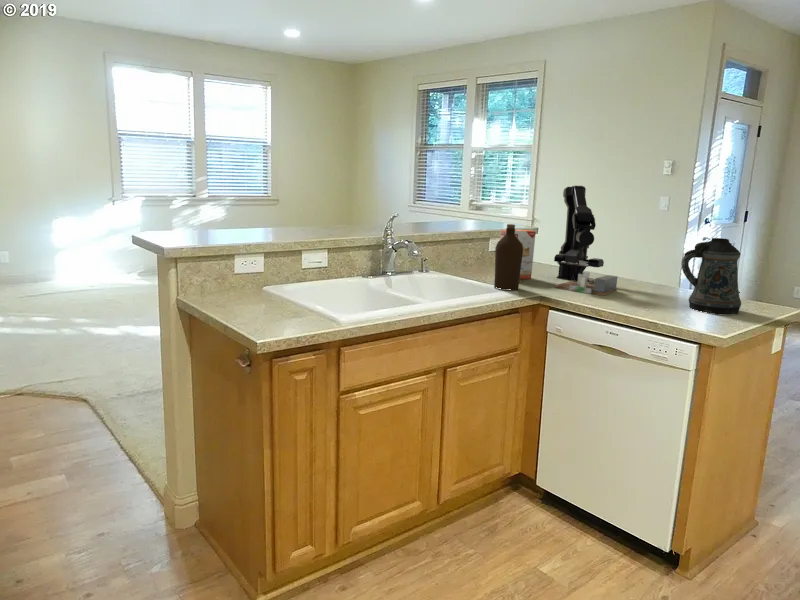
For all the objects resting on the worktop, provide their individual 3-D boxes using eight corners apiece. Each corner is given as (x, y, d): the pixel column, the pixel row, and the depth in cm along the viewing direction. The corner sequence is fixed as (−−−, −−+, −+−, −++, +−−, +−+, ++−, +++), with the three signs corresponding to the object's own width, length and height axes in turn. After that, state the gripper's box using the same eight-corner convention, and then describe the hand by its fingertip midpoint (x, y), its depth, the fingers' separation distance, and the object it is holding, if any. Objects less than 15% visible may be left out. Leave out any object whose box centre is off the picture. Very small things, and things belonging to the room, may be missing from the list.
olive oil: (507, 292, 231) (512, 226, 226) (487, 287, 239) (491, 223, 234) (525, 289, 238) (530, 225, 233) (504, 284, 246) (509, 222, 241)
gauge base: (553, 288, 243) (554, 282, 243) (569, 283, 254) (570, 278, 254) (601, 296, 230) (602, 290, 230) (616, 291, 241) (617, 286, 241)
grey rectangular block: (593, 291, 234) (595, 278, 233) (606, 287, 243) (607, 275, 242) (603, 292, 231) (605, 279, 230) (616, 288, 240) (617, 276, 239)
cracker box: (502, 279, 257) (506, 230, 253) (496, 277, 263) (499, 229, 258) (532, 279, 261) (536, 230, 257) (525, 276, 267) (529, 229, 262)
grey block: (574, 286, 239) (576, 274, 238) (585, 283, 246) (586, 271, 245) (587, 288, 236) (588, 276, 235) (598, 285, 243) (599, 273, 242)
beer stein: (750, 315, 207) (763, 242, 202) (701, 315, 203) (712, 241, 198) (717, 304, 223) (727, 236, 218) (670, 304, 219) (679, 235, 214)
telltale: (580, 287, 237) (581, 277, 236) (582, 287, 238) (583, 277, 238) (584, 288, 236) (585, 278, 235) (586, 287, 237) (587, 277, 237)
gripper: (549, 241, 241) (545, 280, 244) (594, 247, 229) (589, 287, 233) (562, 240, 249) (558, 277, 253) (606, 245, 237) (601, 284, 241)
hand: (576, 281), depth 244 cm, fingers closed
